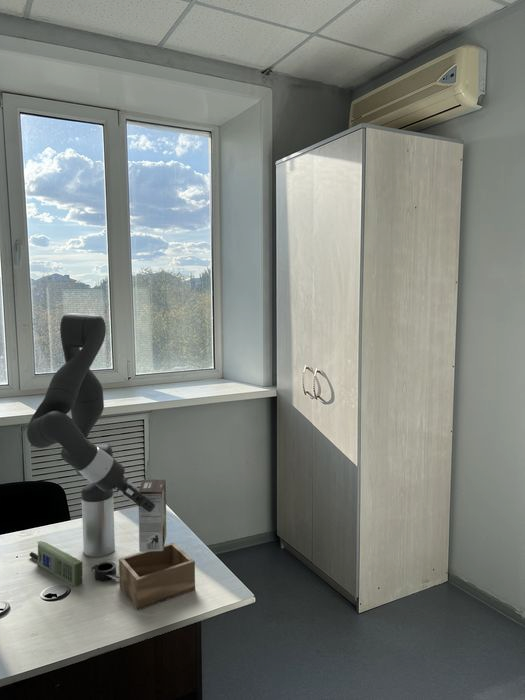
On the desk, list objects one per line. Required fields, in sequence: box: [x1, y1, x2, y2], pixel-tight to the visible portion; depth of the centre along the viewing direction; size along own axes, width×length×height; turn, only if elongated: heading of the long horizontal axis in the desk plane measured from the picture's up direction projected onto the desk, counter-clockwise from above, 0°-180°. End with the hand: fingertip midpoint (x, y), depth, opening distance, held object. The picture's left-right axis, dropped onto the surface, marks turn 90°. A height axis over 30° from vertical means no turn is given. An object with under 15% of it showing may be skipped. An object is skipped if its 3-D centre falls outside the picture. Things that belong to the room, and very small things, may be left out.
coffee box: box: [138, 479, 167, 553], centre depth 139 cm, size 9×6×16 cm
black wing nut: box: [90, 561, 120, 583], centre depth 147 cm, size 8×10×3 cm
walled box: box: [118, 542, 196, 611], centre depth 140 cm, size 13×16×8 cm
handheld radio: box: [29, 540, 83, 588], centre depth 150 cm, size 7×3×25 cm
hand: (146, 503), depth 137 cm, fingers closed on coffee box, 8 cm apart
